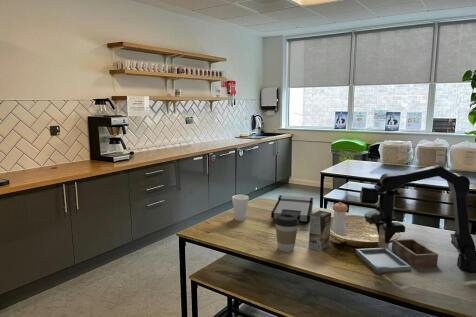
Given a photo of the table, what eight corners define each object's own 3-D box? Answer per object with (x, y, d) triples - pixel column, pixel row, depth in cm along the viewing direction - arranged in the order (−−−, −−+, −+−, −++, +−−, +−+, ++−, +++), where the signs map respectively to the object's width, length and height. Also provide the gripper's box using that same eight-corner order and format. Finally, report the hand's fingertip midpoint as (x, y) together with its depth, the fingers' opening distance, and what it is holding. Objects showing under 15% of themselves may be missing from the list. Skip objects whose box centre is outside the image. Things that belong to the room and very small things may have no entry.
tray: (410, 272, 136) (411, 266, 135) (377, 274, 134) (378, 268, 133) (385, 252, 153) (385, 247, 153) (355, 254, 151) (356, 249, 151)
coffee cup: (299, 244, 161) (300, 214, 159) (297, 255, 150) (298, 222, 148) (275, 242, 164) (276, 212, 162) (271, 251, 153) (272, 219, 151)
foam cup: (229, 217, 198) (229, 195, 196) (243, 215, 202) (244, 194, 200) (236, 222, 190) (236, 200, 188) (251, 220, 194) (251, 198, 192)
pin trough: (436, 268, 140) (438, 254, 139) (414, 269, 138) (415, 255, 137) (411, 251, 155) (413, 238, 154) (391, 252, 154) (392, 239, 153)
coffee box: (321, 251, 154) (322, 217, 151) (308, 247, 158) (309, 214, 155) (329, 245, 161) (331, 212, 158) (317, 241, 165) (319, 209, 162)
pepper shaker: (327, 240, 167) (329, 202, 164) (335, 236, 172) (337, 199, 169) (341, 244, 162) (343, 205, 159) (348, 240, 167) (351, 202, 164)
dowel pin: (390, 248, 141) (392, 227, 139) (381, 249, 140) (382, 228, 139) (384, 244, 145) (386, 224, 143) (376, 245, 144) (377, 224, 143)
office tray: (271, 224, 189) (271, 210, 187) (279, 207, 219) (279, 195, 218) (309, 228, 183) (310, 213, 182) (312, 210, 214) (313, 197, 213)
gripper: (356, 199, 148) (354, 233, 150) (380, 212, 129) (377, 251, 132) (381, 198, 149) (378, 232, 152) (407, 211, 131) (404, 250, 133)
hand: (383, 241), depth 142 cm, fingers closed on dowel pin, 4 cm apart
